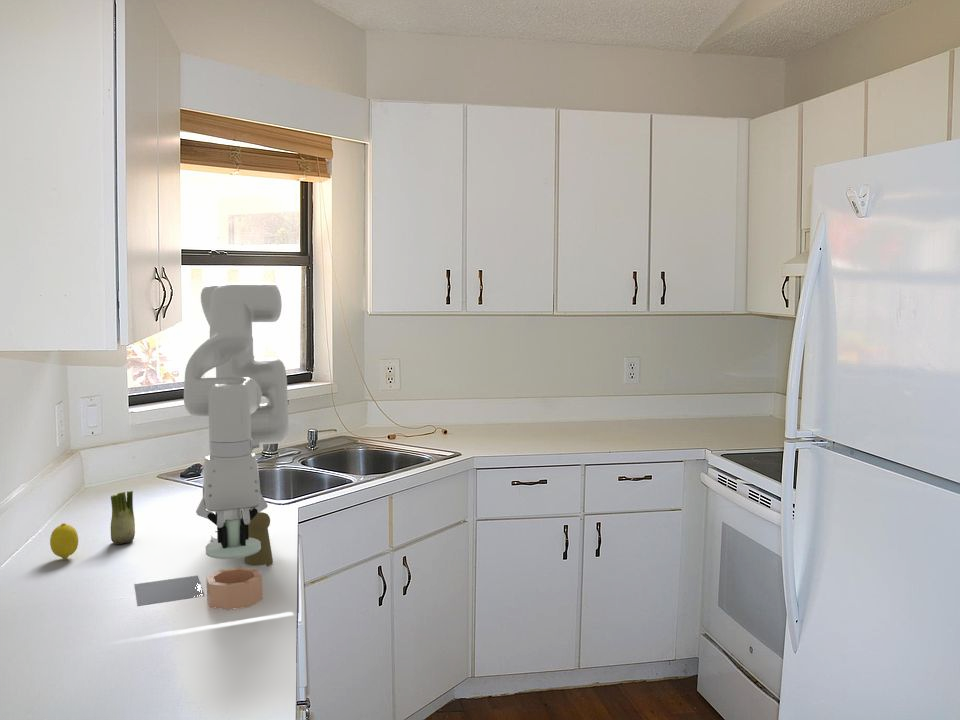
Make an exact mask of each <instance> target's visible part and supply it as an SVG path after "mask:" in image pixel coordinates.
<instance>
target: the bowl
mask: <svg viewBox="0 0 960 720" xmlns="http://www.w3.org/2000/svg"><path fill="white" fill-rule="evenodd" d="M206 600H207V603H208V602H209V603H208V606H209V605H210V606H209V607H210V608H212V607H216V608H215V609H218V608H222V609H221V610H224V609H232V610H234V609H233V608H238V609H243V607H244V608H249V607H250V608H251V606H253V605H254V604H257V603H258V602H260V601H261V600H263V575H262V574H261V572H260V571H259V569H256V568H250V567H243V566H240V567H232V568H224V569H219V570H217V571H215V572H213V573H211V574H209V575H207V576H206ZM241 607H242V608H241Z"/></svg>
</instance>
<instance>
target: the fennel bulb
mask: <svg viewBox="0 0 960 720" xmlns="http://www.w3.org/2000/svg"><path fill="white" fill-rule="evenodd" d="M133 495H134V493H133V490H128V491H121V492H117V494H115V493H114V494H113V495H112V494H111V495H110V500H111V518H110V519H111V520H110V540H111V542H112V543H114V544H116V545H123V544H126V543H130V542H133V540H134V539H135V534H136V523H135V515H134V514H135V513H134V504H133V500H134V498H133Z"/></svg>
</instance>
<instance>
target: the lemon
mask: <svg viewBox="0 0 960 720" xmlns="http://www.w3.org/2000/svg"><path fill="white" fill-rule="evenodd" d="M49 544H50V550H51V552H52V553H53V554H54V555H55V556H57V557H60V558H62V559H63V560H67V559H68V558H69V557H70V556H71V555H74V553H75V552H76V551H77V549H78V547H79V534H78V531H77V530H76V529H75V527H74V526H72V525H69V524H66V523H65V522H64V523H61V524H60V525H58V526H56V527H55V528H54V529H53V530H52V532H51V535H50V539H49Z"/></svg>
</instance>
